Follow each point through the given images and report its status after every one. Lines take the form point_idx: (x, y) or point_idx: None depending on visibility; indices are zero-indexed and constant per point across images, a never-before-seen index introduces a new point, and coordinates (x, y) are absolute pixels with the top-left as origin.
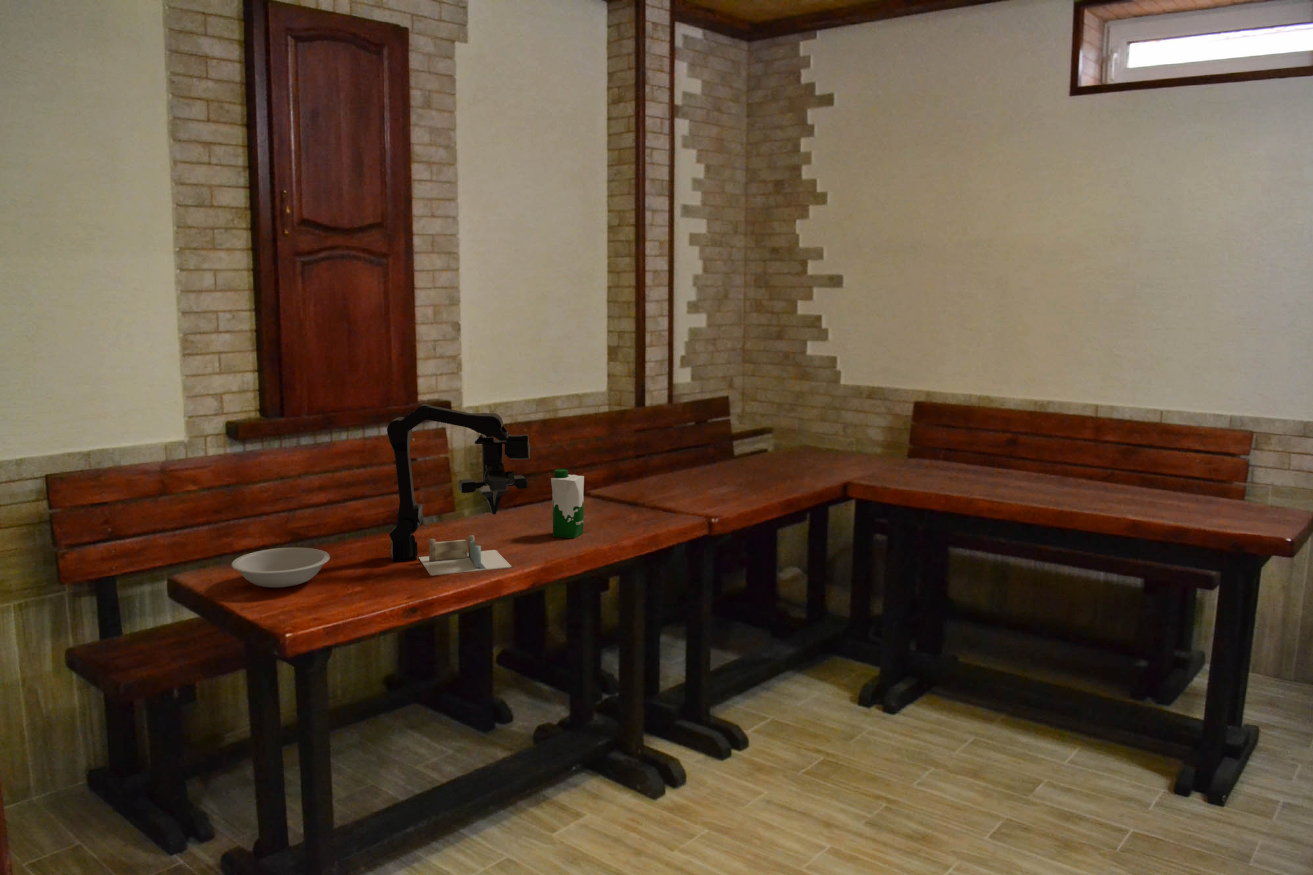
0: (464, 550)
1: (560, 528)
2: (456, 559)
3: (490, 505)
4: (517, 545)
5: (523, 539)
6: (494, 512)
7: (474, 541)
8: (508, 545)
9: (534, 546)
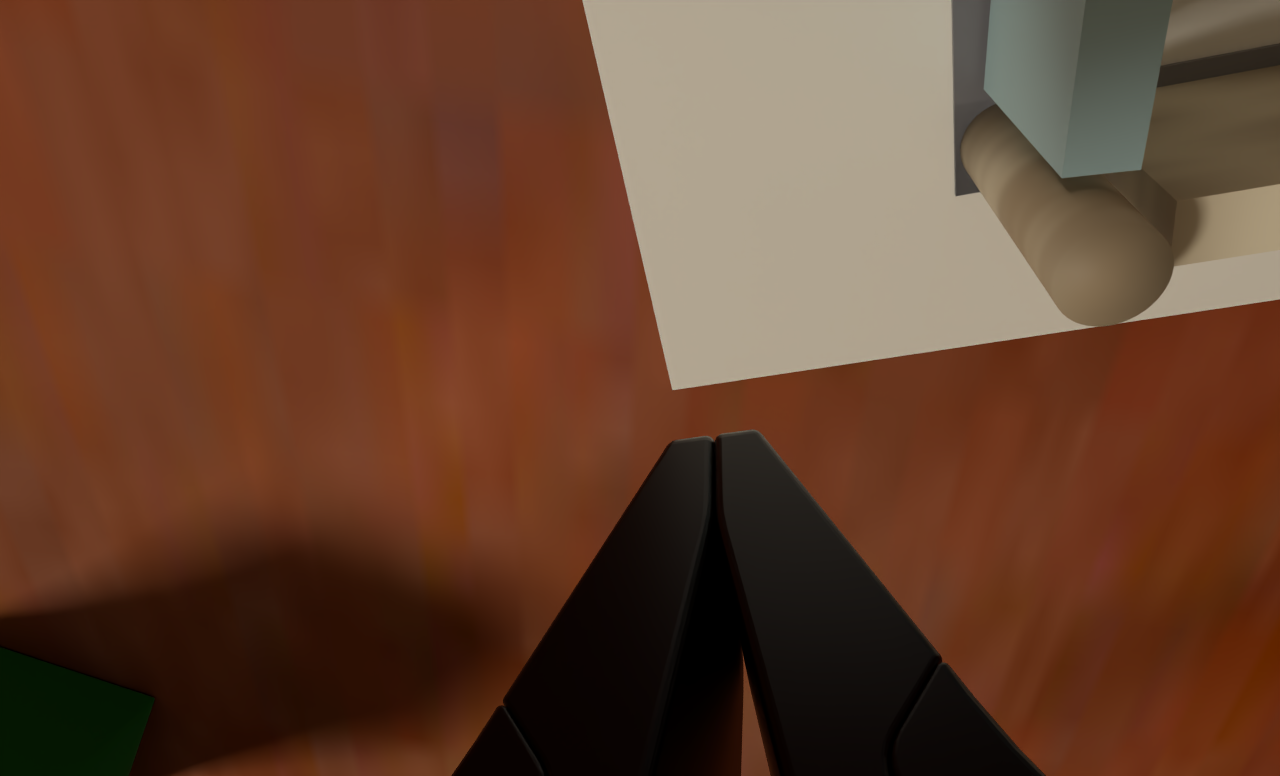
0: (1158, 131)
1: (26, 737)
2: (1246, 39)
3: (895, 613)
4: (443, 522)
5: (405, 669)
6: (709, 459)
7: (1074, 111)
8: (534, 535)
9: (263, 467)
